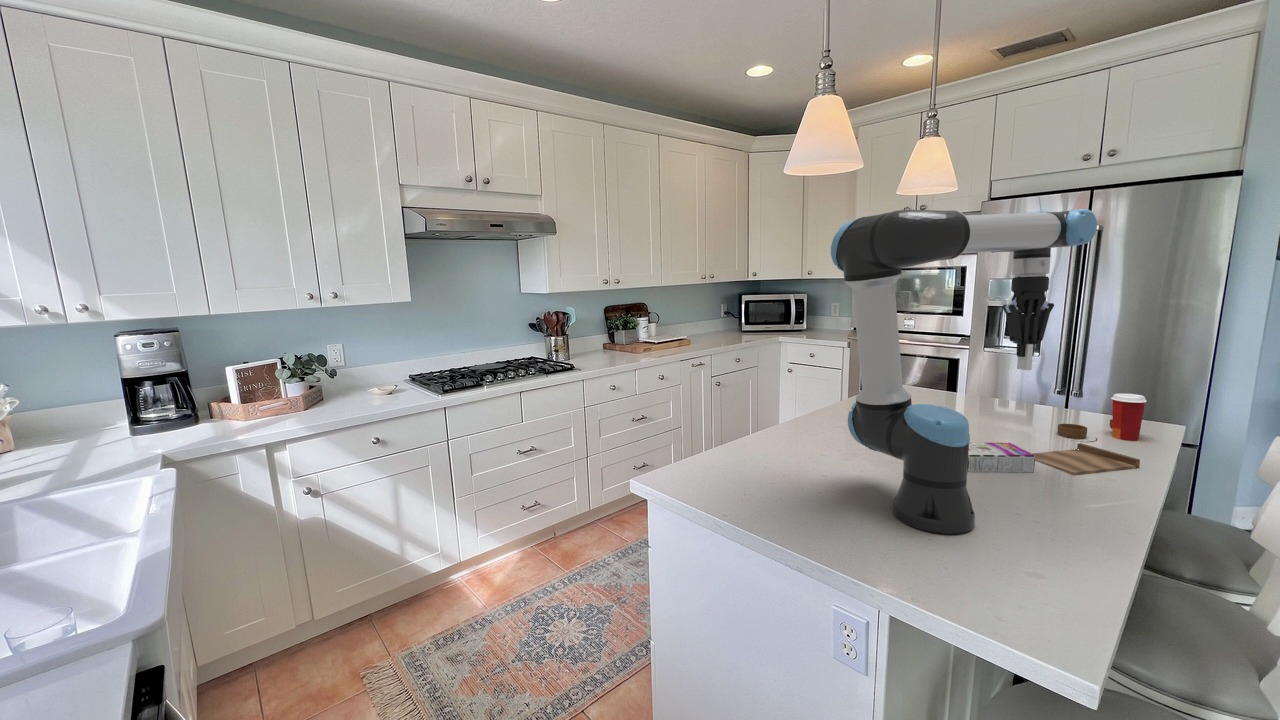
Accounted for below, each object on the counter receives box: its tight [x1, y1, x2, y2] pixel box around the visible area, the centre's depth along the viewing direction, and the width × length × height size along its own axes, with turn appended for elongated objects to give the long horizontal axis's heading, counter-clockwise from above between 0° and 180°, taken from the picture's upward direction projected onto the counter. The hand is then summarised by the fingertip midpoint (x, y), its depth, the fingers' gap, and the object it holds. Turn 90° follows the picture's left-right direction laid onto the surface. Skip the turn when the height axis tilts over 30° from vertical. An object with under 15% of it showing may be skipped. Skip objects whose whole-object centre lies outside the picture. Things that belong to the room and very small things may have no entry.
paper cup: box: [1110, 392, 1148, 442], centre depth 155 cm, size 8×8×14 cm
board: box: [1031, 442, 1141, 476], centre depth 139 cm, size 20×15×2 cm
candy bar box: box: [967, 442, 1036, 474], centre depth 138 cm, size 11×5×16 cm
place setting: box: [1057, 418, 1112, 443], centre depth 157 cm, size 18×20×6 cm
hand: (1024, 369), depth 132 cm, fingers closed
